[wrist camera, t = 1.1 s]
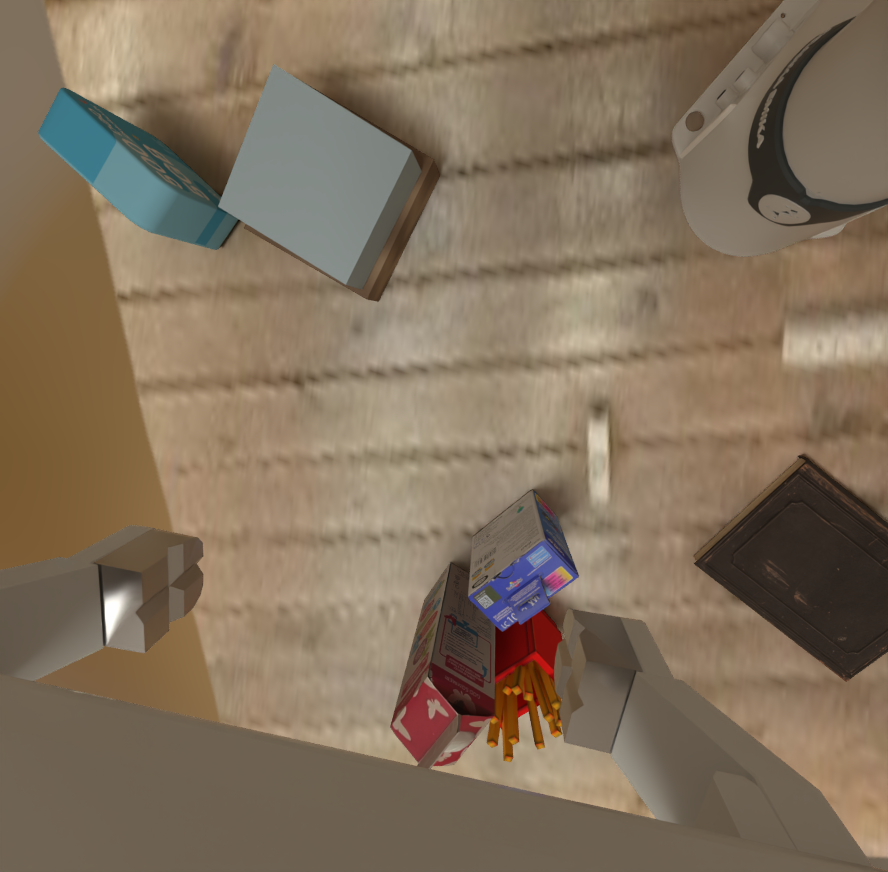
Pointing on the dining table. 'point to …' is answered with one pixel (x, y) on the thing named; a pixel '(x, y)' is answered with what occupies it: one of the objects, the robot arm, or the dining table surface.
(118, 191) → the data package
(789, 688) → the dining table surface
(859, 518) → the hardcover book
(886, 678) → the dining table surface
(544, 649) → the french fries container
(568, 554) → the ink cartridge box
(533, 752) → the dining table surface
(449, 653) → the juice carton
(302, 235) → the slate top block
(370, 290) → the walnut base block
